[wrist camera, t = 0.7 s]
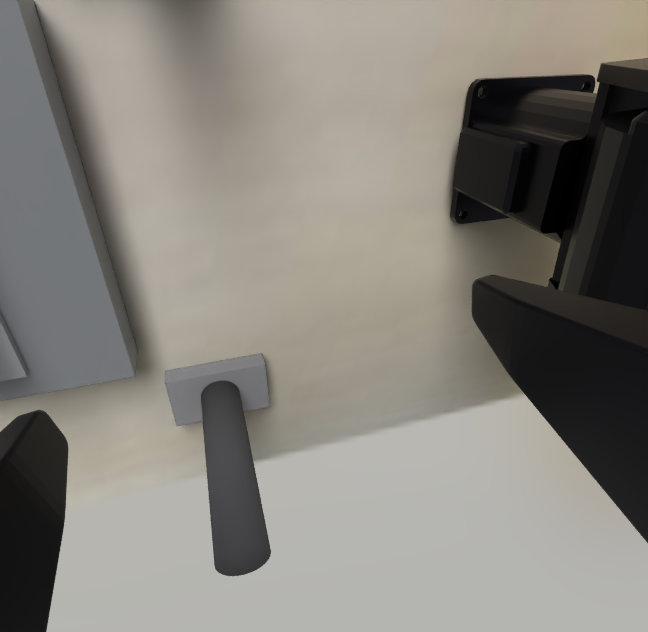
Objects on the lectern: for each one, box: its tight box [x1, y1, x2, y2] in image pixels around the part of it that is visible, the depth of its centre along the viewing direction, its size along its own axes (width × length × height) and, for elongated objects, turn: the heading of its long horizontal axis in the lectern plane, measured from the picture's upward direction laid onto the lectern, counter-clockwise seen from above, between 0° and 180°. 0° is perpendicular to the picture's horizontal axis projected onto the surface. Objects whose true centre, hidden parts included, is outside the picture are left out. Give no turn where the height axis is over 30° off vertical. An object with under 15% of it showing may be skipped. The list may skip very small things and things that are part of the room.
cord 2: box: [165, 353, 271, 576], centre depth 20 cm, size 5×3×10 cm, turn 92°
